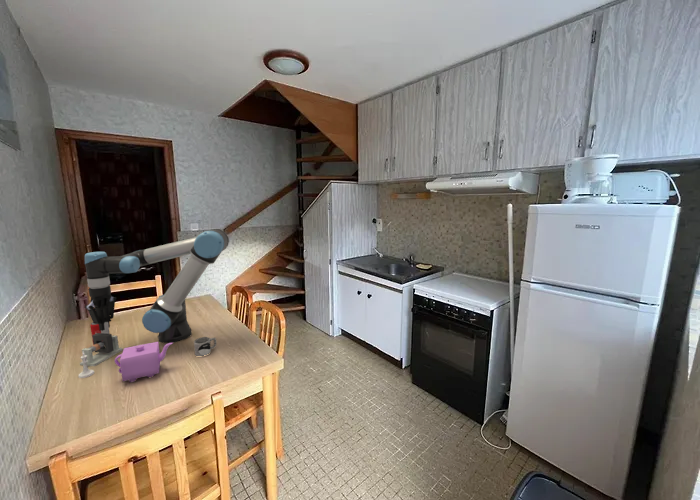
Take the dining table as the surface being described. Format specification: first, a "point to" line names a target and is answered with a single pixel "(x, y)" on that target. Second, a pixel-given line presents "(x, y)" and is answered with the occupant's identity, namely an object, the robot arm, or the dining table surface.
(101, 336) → the collar
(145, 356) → the teapot
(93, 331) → the beverage can
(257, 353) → the dining table surface
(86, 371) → the chess piece
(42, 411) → the dining table surface
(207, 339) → the mug
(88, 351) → the pipe rig
